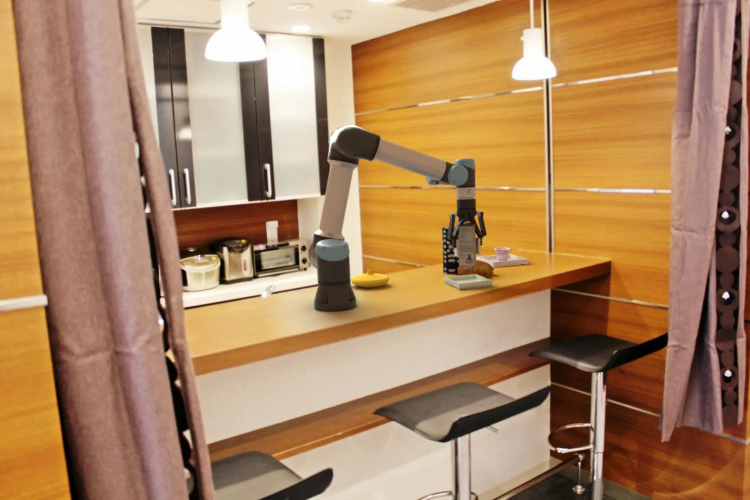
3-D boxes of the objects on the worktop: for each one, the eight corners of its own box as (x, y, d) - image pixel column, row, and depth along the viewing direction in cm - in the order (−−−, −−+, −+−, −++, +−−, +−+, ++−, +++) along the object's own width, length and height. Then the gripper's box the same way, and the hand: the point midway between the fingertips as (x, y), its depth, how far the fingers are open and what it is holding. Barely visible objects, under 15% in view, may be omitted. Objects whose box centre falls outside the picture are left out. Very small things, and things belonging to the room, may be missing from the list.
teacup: (486, 260, 300) (486, 247, 299) (510, 258, 302) (510, 246, 301) (495, 264, 288) (495, 251, 287) (519, 262, 290) (519, 249, 289)
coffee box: (460, 261, 252) (459, 222, 250) (476, 261, 251) (475, 221, 249) (458, 265, 243) (457, 224, 241) (475, 265, 242) (474, 224, 240)
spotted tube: (465, 272, 275) (464, 227, 272) (451, 274, 270) (450, 229, 267) (453, 269, 282) (452, 226, 279) (439, 272, 277) (438, 228, 274)
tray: (459, 290, 239) (459, 283, 239) (444, 283, 254) (444, 277, 253) (492, 286, 243) (492, 280, 243) (475, 279, 257) (475, 274, 257)
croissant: (471, 285, 257) (472, 267, 255) (452, 274, 271) (452, 257, 269) (500, 280, 263) (501, 262, 261) (480, 270, 277) (480, 253, 274)
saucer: (493, 267, 283) (493, 262, 283) (476, 261, 301) (476, 256, 300) (528, 264, 288) (528, 259, 288) (510, 258, 305) (510, 253, 305)
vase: (370, 280, 266) (370, 264, 265) (397, 285, 254) (396, 268, 253) (343, 287, 255) (342, 270, 254) (370, 291, 244) (369, 274, 242)
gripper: (444, 200, 237) (446, 258, 240) (495, 197, 243) (496, 254, 246) (437, 199, 244) (438, 256, 247) (486, 196, 250) (487, 251, 253)
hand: (467, 255), depth 247 cm, fingers closed on coffee box, 9 cm apart
